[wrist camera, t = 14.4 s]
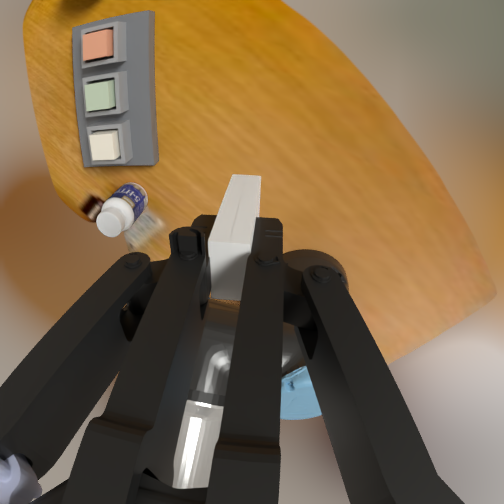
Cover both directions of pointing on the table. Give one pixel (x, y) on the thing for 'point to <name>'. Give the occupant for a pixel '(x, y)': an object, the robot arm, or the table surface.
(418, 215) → the table surface
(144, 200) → the pill bottle
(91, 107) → the sage button
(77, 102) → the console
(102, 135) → the cream button
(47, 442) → the robot arm
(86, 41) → the terracotta button
